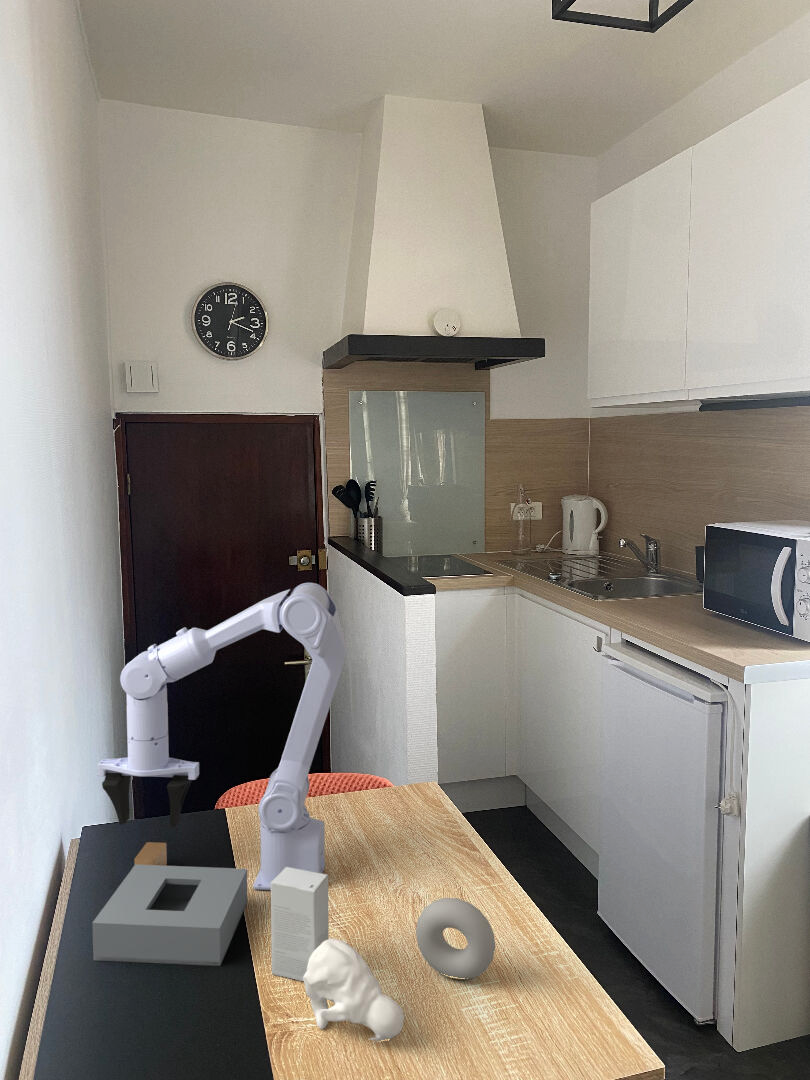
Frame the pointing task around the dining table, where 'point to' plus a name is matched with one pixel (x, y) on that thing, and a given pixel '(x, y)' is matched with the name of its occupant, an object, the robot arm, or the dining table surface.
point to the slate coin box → (171, 915)
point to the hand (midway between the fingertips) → (149, 822)
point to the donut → (469, 924)
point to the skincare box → (297, 920)
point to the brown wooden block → (152, 854)
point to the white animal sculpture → (349, 991)
